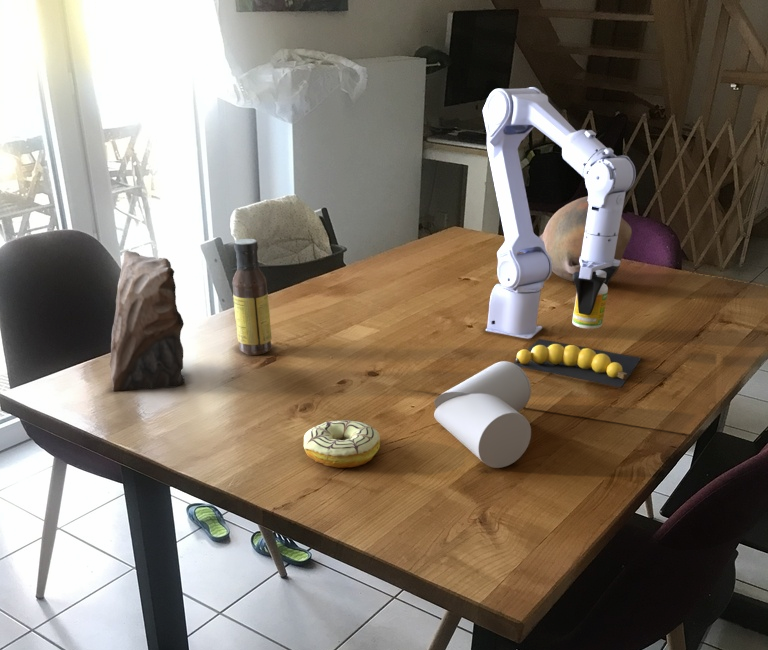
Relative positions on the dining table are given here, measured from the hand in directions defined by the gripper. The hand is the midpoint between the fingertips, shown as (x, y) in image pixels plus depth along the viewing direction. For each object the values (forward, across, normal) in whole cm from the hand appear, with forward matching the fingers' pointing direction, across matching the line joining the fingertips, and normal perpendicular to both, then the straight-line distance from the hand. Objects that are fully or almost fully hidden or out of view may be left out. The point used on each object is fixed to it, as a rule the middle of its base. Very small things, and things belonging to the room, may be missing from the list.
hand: (589, 309), depth 147 cm
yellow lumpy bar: (+9, -8, 0) cm, 12 cm away
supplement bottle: (+3, 0, 0) cm, 3 cm away
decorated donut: (+9, -57, +19) cm, 61 cm away
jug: (+9, +50, +19) cm, 55 cm away
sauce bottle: (+9, -29, +54) cm, 62 cm away
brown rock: (+9, -50, +62) cm, 80 cm away
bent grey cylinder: (+9, -40, +3) cm, 41 cm away
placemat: (+9, -4, 0) cm, 10 cm away
